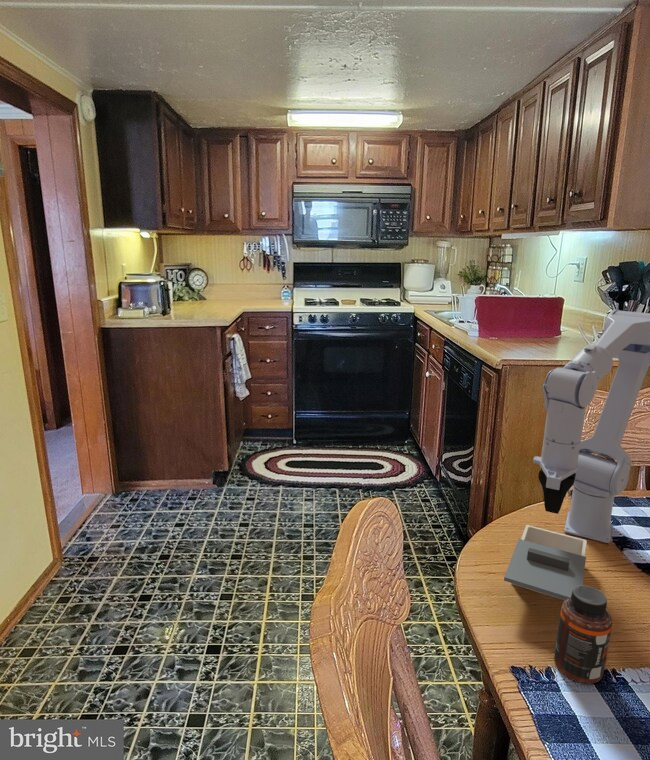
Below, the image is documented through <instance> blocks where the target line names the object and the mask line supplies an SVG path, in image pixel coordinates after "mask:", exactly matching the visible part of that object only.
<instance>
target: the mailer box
mask: <svg viewBox="0 0 650 760" xmlns="http://www.w3.org/2000/svg"><path fill="white" fill-rule="evenodd" d="M520 539H522V540H525V541H529V542H533V543H537V544H540V545H544V546H548V547H551V548H555V549H559V550H562V551H566V552H570V553H574V554H577V555H581V556H585V555H586V549H587V541H588V540H587V539H583V538H580V537H575V536H571V535H568V534H564V533H561V532H556V531H553V530H548V529H545V528H540V527H537V526H533V525H528V524H525V527H524V529H523V533H522V536H521V537H520ZM585 557H586V556H585ZM510 584H511V585H514V586H517V587H521V588H524V589H527V590H530V591H532V592H533V591H534V592H536V593H538V594H539V593H540V594H543V595H545V596H548V597H549V596H550V597H552V598H556V599H558V600H562V601H565V600H564V599H561V598H558V597H555V596H552V595H548V594H545V593H542V592H539V591H536V590H532V589H529V588H526V587H523V586H520V585H516V584H513V583H510Z"/></svg>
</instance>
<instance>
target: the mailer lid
mask: <svg viewBox="0 0 650 760" xmlns="http://www.w3.org/2000/svg"><path fill="white" fill-rule="evenodd" d="M586 559H587V556H581V555H577V554H574V553H570V552H566V551H562V550H559V549H555V548H551V547H548V546H544V545H540V544H537V543H533V542H529V541H525V540H522V539H521V538H518V540H517V542H516V544H515V548H514V551H513V553H512V556H511V558H510V561H509V564H508V566H507V569H506V572H505V574H504V577H503V581H504V582H507V583H510V584H511V583H513V584H516V585H515V586H517V585H520V586H523V587H526V588H529V589H532V590H531V591H533V590H536V591H539V592H542V593H545V594H548V595H547V596H549V595H552V596H555V597H558V598H561V599H564V600H563V601H565V600H567V599H568V598H571V595H572V590H573V588H574V587H576V586H580V585H584V584H583V583H584V576H585V568H586V562H587V561H586ZM513 584H512V585H513ZM520 586H519V587H520ZM523 587H522V588H523ZM526 588H525V589H526ZM529 589H528V590H529ZM536 591H535V592H536ZM539 592H538V593H539ZM542 593H541V594H542ZM545 594H544V595H545ZM552 596H551V597H552ZM555 597H554V598H555ZM558 598H557V599H558ZM561 599H560V600H561Z"/></svg>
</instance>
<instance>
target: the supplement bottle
mask: <svg viewBox="0 0 650 760" xmlns="http://www.w3.org/2000/svg"><path fill="white" fill-rule="evenodd" d="M607 603H608V599H607V596H606V595H605V594H604V592H602V591H600V590H599V589H597V588H596V587H592V586H589V585H584V584H583V585H580V586H576V587H574V588H573V590H572V595H571V598H568V599H567V600H563V602H562V605H561V608H560V614H559V620H558V626H557V631H556V632H557V633H556V639H555V640H556V641H555V647H554V658H553V659H554V663H555V666H556V668H558V670H559V671H560V672H561V673H562V674H563V675H564V676H565V677H567V678H569V679H571V680H573V681H575V682H577V683H580V684H584V685H585V684H587V685H588V684H589V685H591V684H596V683H598V682H600V681H601V680H602V679H603V676H604V672H605V667H606V662H607V655H608V650H609V645H610V639H611V633H612V626H613V618H612V615H611V613H610V612H609V610H608V609H607V607H608V606H607V605H608V604H607Z"/></svg>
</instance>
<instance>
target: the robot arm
mask: <svg viewBox="0 0 650 760" xmlns="http://www.w3.org/2000/svg"><path fill="white" fill-rule="evenodd" d="M604 320H605V321H604V325H603V333H602V335H600V337H599V339H598V340H597V341H596V342H595V343H594V344H587V345H586V346H584V347H582V349H580V350H579V351H578V352H577V353H576V354H575V355H574V356H573V357H572V358H571V359H570V360H569V361H568V362H567V363H566V364H565V365H564V366H563V367H556V368H554V369H551V370H550V371H549V372H548V373H547V374H546V377H545V379H544V383H543V385H542V396H543V398H544V404H543V407H544V410H545V411H546V416H545V424H544V433H543V440H542V448H541V455H540V456H538V455H536V456H534V457H533V461H532V463H533V464H535V465H539V466H540V470H539V471H538V475H537V477H538V481H539V483H540V486H541V488H542V492H543V501H544V509H545V512H547V513H552V514H557V515H558V514H559V513H560V511H561V508H562V505H563V503H564V499H565V497H566V496H567V493H568V492H569V491H570V489H571V488H572V487H573V489H572V494H571V499H570V500H571V502H570V508H569V510H568V511H567V517H566V520H565V525H564V530H563V531H564V533H566V534H569V535H570V534H571V535H573V536H574V535H575V536H578V537H581V538H586V539H589V540H594V541H598V542H602V543H605V544H606V543H607V544H610V543H611V535H612V534H611V533H612V532H611V531H612V520H611V518H612V513H613V507H614V506H613V505H614V501H615V496H618V495H620V494H621V493H623V492H624V491H625V489H626V487H627V485H628V482H629V478H630V470H631V467H632V464H633V463H632V458H631V456H630V455H629V454H628V452H627V451H626V450H625V449H624V448H623V447H622V445H621V444H622V441H623V438H624V435H625V433H626V430H627V427H628V425H629V421H630V419H631V415H632V413H633V410H634V408H635V405H636V402H637V399H638V395H639V394H640V391H641V388H642V384H643V382H644V379H645V376H646V374H647V372H648V371H649V370H648V369H649V367H650V313H648V312H638V311H637V312H636V311H625V310H620V309H613V310H611V311H610V312H609V313H608V315H607V316H606V318H605V319H604ZM614 358H615V359H617V360H618V365H617V369H616V371H615V374H614V376H613V377H614V378H613V380H612V382H611V385H610V388H609V391H608V394H607V397H606V399H605V403H604V405H603V408H602V410H601V414H600V416H599V419H598V421H597V425H596V427H595V429H594V433H593V434H592V437H589V438H586V439H585V438H584V439H583V440H582V436H583V435H582V434H583V430H584V429H583V427H584V422H585V414H586V408H587V407H588V406H589V405H591V402H593V399H594V396H595V393H596V391H597V390H598V388H599V382H600V381H602V379H604V377H605V376H606V375H607V374H608V373H609V372H610V370H612V368H613V366H614ZM605 457H606V458H605ZM615 460H616V461H615Z"/></svg>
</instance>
